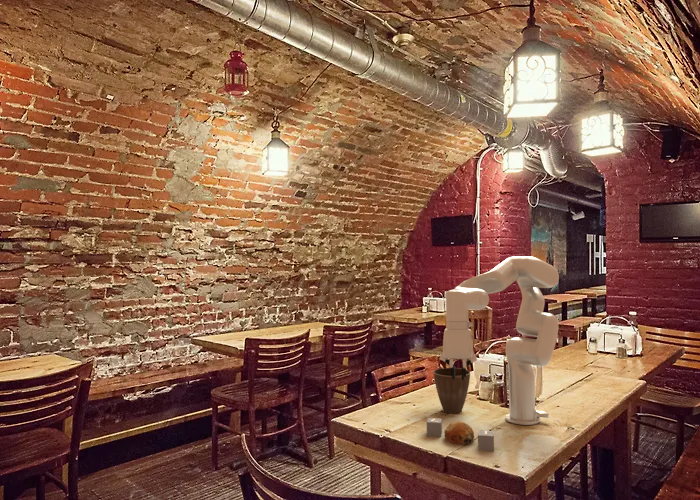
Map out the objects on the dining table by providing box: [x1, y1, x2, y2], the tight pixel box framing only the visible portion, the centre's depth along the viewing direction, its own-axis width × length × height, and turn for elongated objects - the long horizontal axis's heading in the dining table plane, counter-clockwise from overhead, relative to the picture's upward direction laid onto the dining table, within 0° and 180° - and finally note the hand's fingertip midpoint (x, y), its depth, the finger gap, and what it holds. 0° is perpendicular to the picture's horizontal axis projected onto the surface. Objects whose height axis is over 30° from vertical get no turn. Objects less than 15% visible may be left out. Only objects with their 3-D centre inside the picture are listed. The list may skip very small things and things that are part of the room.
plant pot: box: [432, 367, 471, 414], centre depth 217 cm, size 15×15×16 cm
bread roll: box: [444, 421, 475, 446], centre depth 183 cm, size 10×10×8 cm
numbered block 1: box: [477, 429, 495, 452], centre depth 175 cm, size 5×5×5 cm
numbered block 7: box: [426, 417, 443, 438], centre depth 189 cm, size 5×5×5 cm
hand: (458, 378), depth 183 cm, fingers open, 2 cm apart
